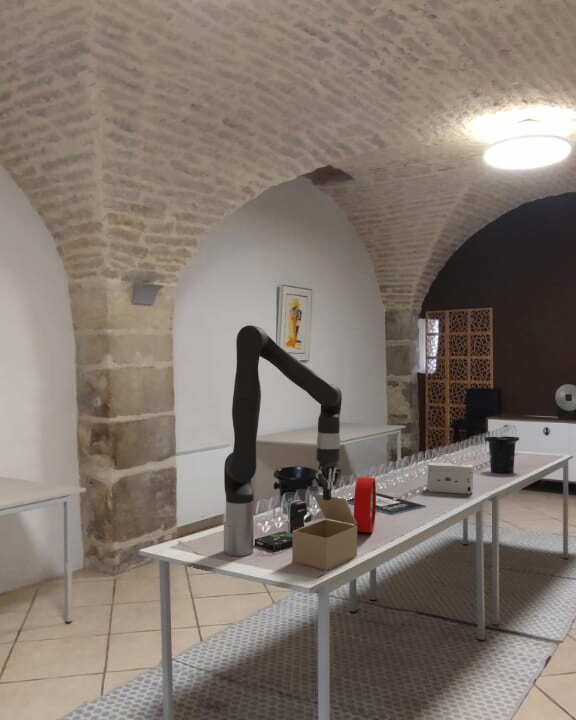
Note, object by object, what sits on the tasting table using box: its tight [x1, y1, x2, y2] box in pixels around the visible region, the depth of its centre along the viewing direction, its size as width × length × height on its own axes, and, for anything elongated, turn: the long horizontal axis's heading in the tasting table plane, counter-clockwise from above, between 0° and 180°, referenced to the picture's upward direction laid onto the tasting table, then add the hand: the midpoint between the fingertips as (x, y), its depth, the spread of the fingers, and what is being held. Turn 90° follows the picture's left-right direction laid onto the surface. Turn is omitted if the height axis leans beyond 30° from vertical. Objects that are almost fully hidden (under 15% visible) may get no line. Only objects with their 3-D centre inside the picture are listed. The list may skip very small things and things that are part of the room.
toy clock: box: [353, 476, 377, 534], centre depth 247 cm, size 20×6×20 cm, turn 167°
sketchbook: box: [347, 492, 427, 516], centre depth 290 cm, size 22×30×2 cm
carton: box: [291, 518, 358, 572], centre depth 215 cm, size 18×13×10 cm
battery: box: [287, 499, 308, 534], centre depth 245 cm, size 7×4×11 cm, turn 134°
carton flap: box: [313, 493, 357, 525], centre depth 220 cm, size 12×12×1 cm
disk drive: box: [254, 530, 293, 553], centre depth 231 cm, size 10×3×15 cm
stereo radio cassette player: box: [427, 449, 474, 495], centre depth 315 cm, size 21×8×20 cm, turn 75°
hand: (326, 499), depth 215 cm, fingers closed
